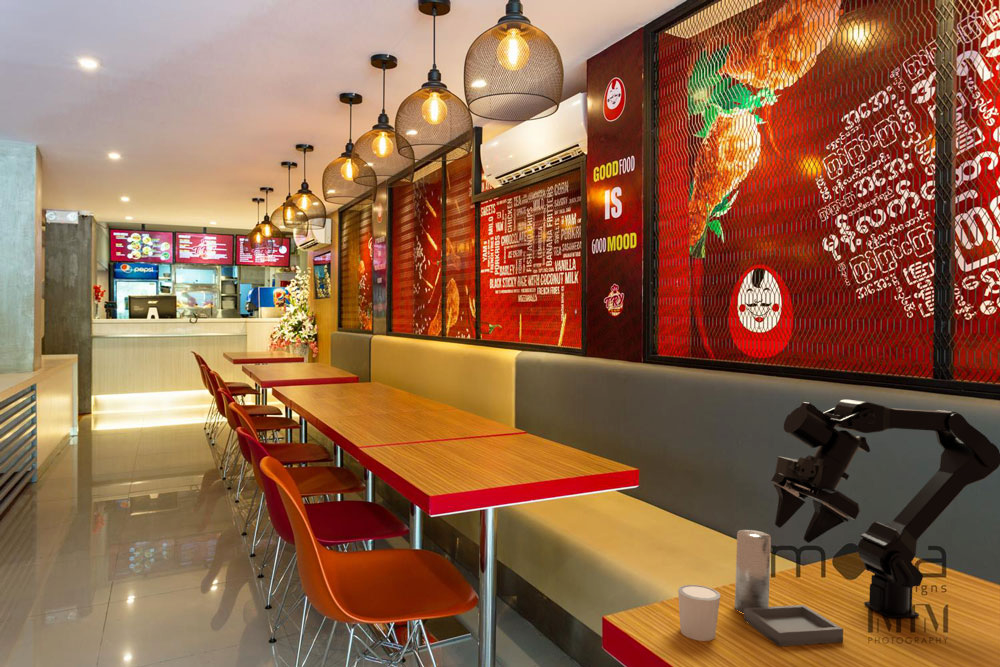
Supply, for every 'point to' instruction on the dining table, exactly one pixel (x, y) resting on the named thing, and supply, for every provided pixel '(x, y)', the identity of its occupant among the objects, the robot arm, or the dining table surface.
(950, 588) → the dining table surface
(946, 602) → the dining table surface
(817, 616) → the tray
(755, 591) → the silver metal cylinder
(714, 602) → the white cup
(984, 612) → the dining table surface
